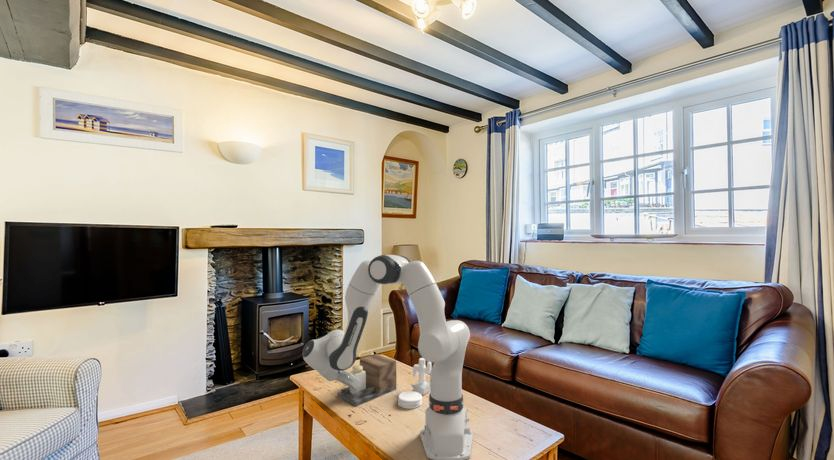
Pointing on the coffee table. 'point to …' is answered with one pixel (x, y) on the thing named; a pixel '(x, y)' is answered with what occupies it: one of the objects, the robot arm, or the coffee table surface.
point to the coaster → (410, 399)
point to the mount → (373, 380)
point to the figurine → (421, 377)
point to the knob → (359, 378)
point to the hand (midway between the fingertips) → (351, 385)
